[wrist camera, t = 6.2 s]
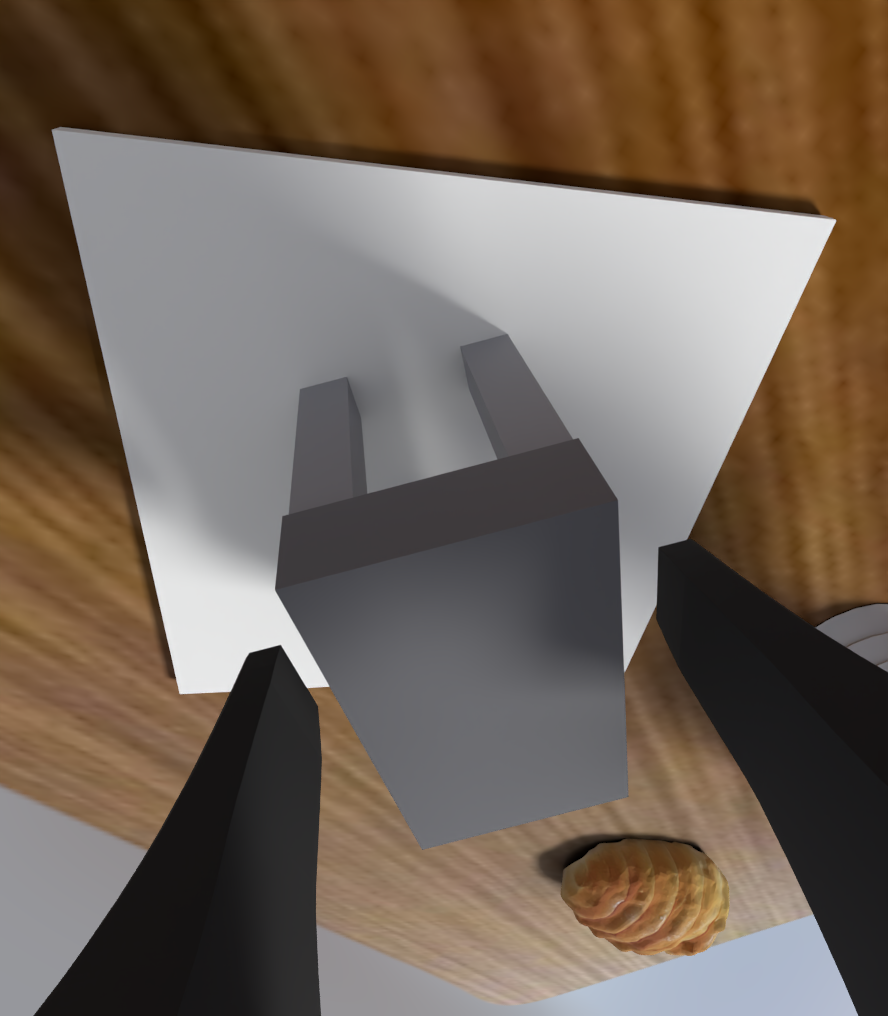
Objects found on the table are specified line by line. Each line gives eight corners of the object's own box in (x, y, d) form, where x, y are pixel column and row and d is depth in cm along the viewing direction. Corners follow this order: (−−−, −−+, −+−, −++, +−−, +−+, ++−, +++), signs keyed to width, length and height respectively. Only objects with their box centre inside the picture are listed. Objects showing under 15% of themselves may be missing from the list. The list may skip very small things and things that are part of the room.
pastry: (521, 876, 31) (542, 964, 28) (618, 813, 28) (653, 903, 25) (633, 898, 35) (662, 977, 32) (726, 846, 33) (766, 926, 30)
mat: (823, 215, 12) (836, 220, 12) (620, 662, 20) (625, 672, 20) (60, 126, 9) (51, 129, 9) (182, 682, 18) (179, 694, 17)
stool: (546, 590, 17) (628, 796, 12) (396, 629, 17) (422, 849, 12) (506, 324, 12) (617, 499, 7) (296, 380, 12) (274, 589, 7)
